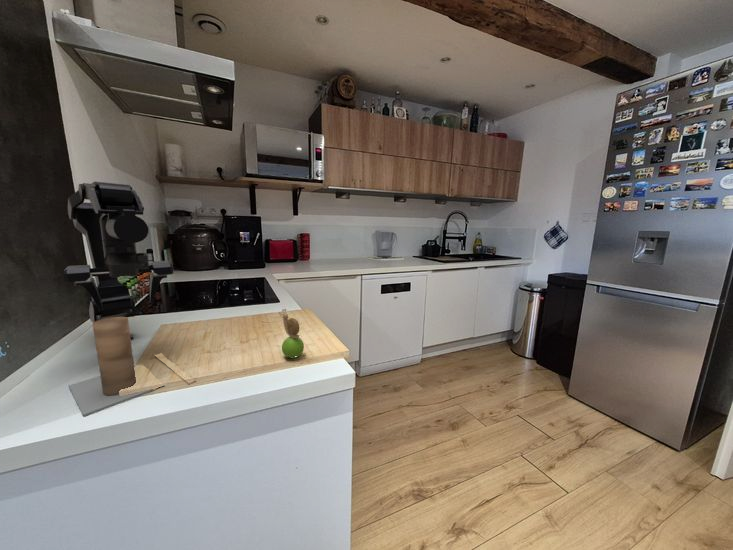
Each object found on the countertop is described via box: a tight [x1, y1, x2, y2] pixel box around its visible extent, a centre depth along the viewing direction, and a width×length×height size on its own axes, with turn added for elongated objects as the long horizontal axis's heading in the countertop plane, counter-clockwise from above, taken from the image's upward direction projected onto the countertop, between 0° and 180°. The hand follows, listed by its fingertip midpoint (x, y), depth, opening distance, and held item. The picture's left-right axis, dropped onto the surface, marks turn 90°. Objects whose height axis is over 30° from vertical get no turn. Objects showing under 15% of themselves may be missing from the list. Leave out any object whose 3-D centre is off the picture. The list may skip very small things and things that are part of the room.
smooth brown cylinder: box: [92, 317, 136, 396], centre depth 55 cm, size 5×5×14 cm
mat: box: [68, 364, 155, 418], centre depth 57 cm, size 14×12×1 cm
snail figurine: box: [281, 308, 305, 358], centre depth 71 cm, size 5×6×12 cm
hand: (127, 306), depth 67 cm, fingers open, 9 cm apart
